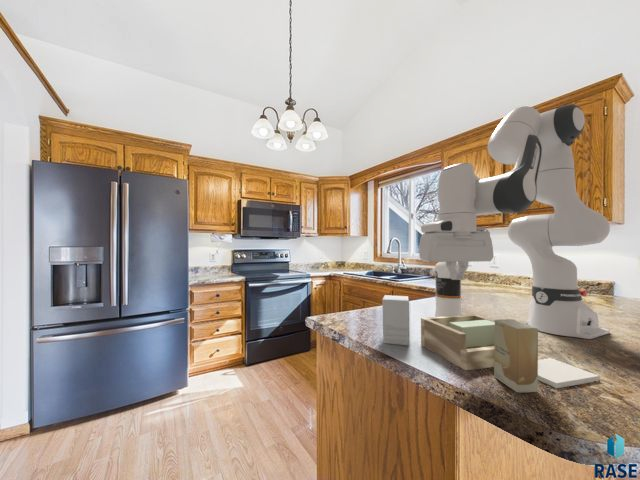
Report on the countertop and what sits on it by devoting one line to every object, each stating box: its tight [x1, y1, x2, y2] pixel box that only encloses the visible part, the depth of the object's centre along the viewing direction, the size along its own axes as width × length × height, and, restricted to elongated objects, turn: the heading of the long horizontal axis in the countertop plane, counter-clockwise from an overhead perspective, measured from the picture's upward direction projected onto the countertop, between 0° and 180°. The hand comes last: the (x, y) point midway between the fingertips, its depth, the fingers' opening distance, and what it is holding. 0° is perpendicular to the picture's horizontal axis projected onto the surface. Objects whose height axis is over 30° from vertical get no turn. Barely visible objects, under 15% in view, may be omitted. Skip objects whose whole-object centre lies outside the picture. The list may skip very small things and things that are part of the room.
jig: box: [420, 313, 496, 371], centre depth 69 cm, size 18×16×8 cm
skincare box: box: [493, 318, 539, 394], centre depth 53 cm, size 6×4×12 cm
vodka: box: [434, 262, 463, 317], centre depth 92 cm, size 9×9×30 cm
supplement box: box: [381, 294, 411, 346], centre depth 78 cm, size 7×7×13 cm
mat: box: [538, 357, 601, 389], centre depth 57 cm, size 12×9×1 cm
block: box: [449, 320, 495, 347], centre depth 69 cm, size 12×4×5 cm, turn 105°
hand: (457, 279), depth 68 cm, fingers closed
